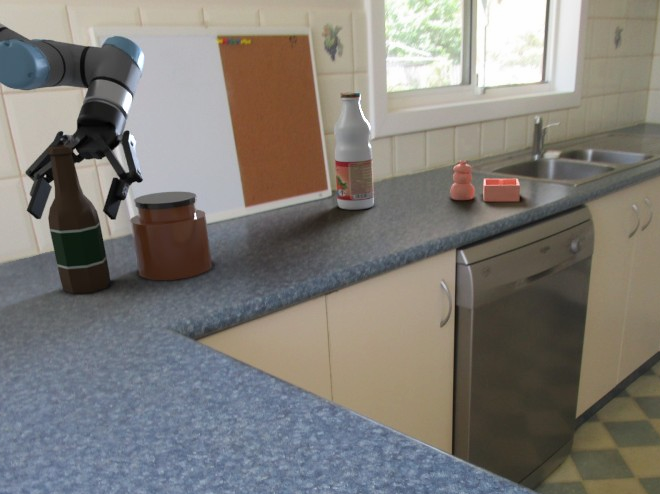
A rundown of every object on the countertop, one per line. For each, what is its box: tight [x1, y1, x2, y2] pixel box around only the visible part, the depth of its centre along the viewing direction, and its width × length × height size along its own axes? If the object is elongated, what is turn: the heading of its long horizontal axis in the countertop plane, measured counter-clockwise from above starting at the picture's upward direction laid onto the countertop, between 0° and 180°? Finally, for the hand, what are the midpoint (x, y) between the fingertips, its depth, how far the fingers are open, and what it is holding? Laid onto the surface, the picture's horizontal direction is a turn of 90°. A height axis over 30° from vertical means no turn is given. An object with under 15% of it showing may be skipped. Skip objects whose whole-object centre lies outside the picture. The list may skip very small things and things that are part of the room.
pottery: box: [449, 159, 521, 202], centre depth 175 cm, size 18×10×10 cm, turn 84°
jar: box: [129, 191, 213, 281], centre depth 121 cm, size 13×13×14 cm
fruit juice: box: [333, 91, 375, 211], centre depth 166 cm, size 9×9×28 cm
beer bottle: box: [47, 145, 111, 295], centre depth 111 cm, size 8×8×24 cm
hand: (71, 215), depth 110 cm, fingers open, 13 cm apart
